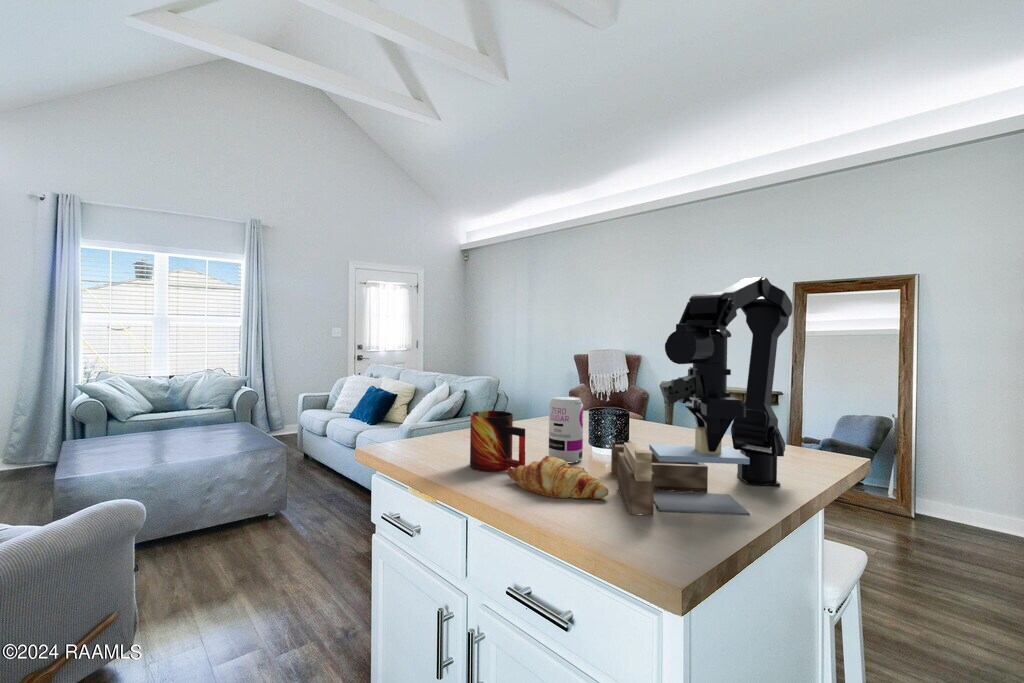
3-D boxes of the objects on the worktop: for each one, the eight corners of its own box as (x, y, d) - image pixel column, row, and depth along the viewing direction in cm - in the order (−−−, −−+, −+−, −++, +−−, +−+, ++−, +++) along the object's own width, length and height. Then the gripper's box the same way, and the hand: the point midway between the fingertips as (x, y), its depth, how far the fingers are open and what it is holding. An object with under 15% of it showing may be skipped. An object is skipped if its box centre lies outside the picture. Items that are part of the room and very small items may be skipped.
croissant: (612, 515, 90) (619, 473, 93) (598, 504, 82) (606, 458, 86) (513, 494, 100) (522, 456, 104) (492, 482, 93) (503, 442, 96)
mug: (524, 475, 103) (524, 419, 103) (463, 470, 107) (464, 416, 106) (534, 464, 112) (534, 413, 112) (478, 459, 116) (478, 409, 116)
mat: (728, 495, 91) (728, 494, 91) (749, 514, 81) (750, 513, 81) (648, 492, 93) (648, 490, 93) (659, 510, 83) (659, 509, 83)
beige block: (636, 458, 93) (636, 434, 93) (651, 481, 78) (651, 453, 78) (623, 457, 94) (624, 434, 93) (636, 480, 79) (636, 452, 79)
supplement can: (581, 456, 120) (582, 396, 120) (583, 465, 112) (584, 400, 112) (548, 455, 121) (549, 395, 121) (548, 463, 113) (549, 399, 113)
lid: (730, 451, 91) (730, 425, 91) (749, 464, 82) (749, 435, 82) (649, 449, 92) (649, 423, 92) (659, 461, 83) (659, 432, 83)
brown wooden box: (689, 474, 105) (690, 442, 105) (733, 519, 79) (734, 477, 79) (611, 471, 107) (611, 439, 107) (628, 514, 81) (629, 473, 81)
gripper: (653, 359, 97) (652, 436, 97) (676, 365, 78) (675, 460, 78) (710, 360, 96) (709, 438, 96) (748, 366, 77) (746, 463, 77)
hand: (708, 448), depth 87 cm, fingers closed on lid, 3 cm apart
